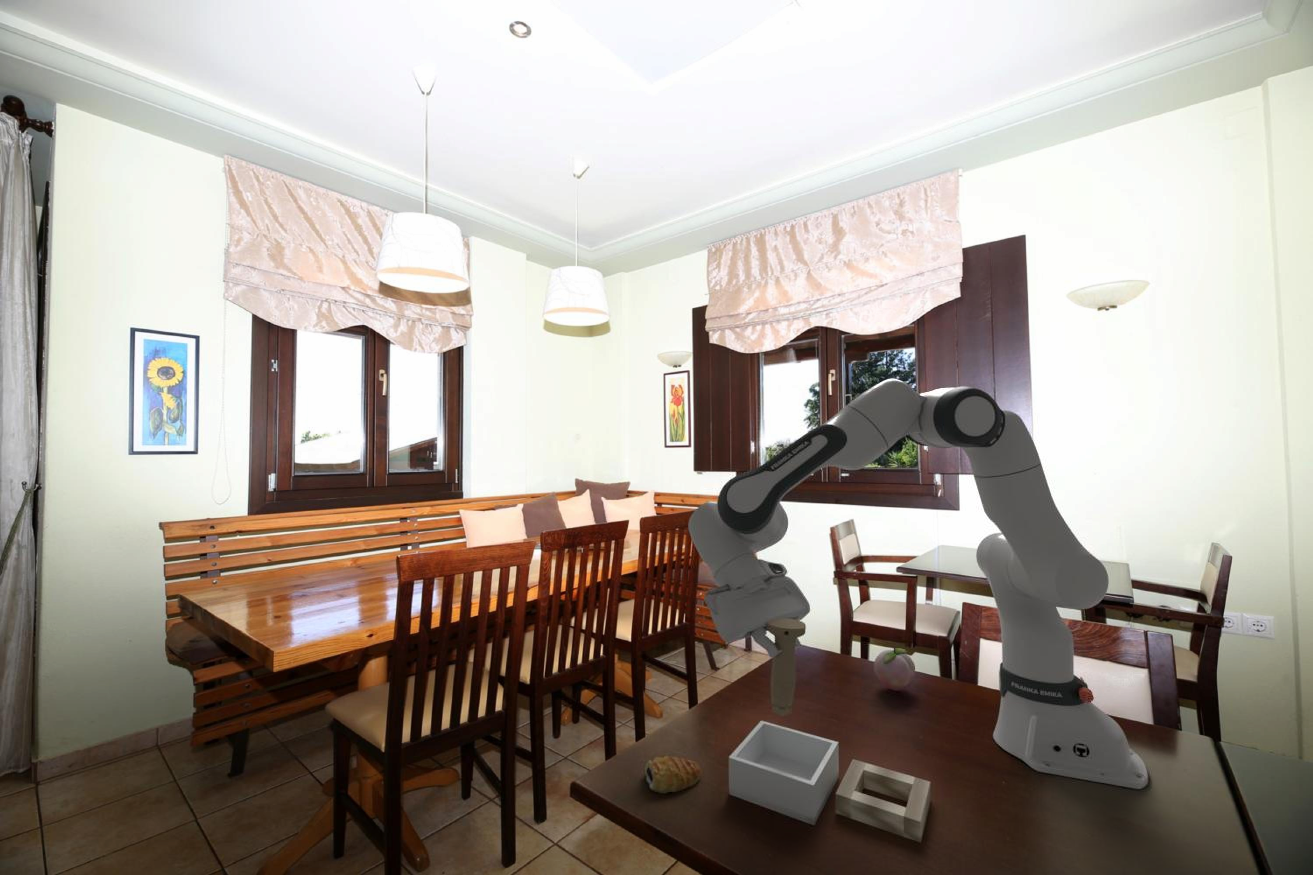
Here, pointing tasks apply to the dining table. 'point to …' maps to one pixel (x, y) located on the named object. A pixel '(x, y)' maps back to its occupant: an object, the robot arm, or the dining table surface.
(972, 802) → the dining table surface
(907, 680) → the decorative fruit
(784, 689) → the handle
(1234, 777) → the dining table surface
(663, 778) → the pastry
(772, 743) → the bin
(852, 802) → the socket block
